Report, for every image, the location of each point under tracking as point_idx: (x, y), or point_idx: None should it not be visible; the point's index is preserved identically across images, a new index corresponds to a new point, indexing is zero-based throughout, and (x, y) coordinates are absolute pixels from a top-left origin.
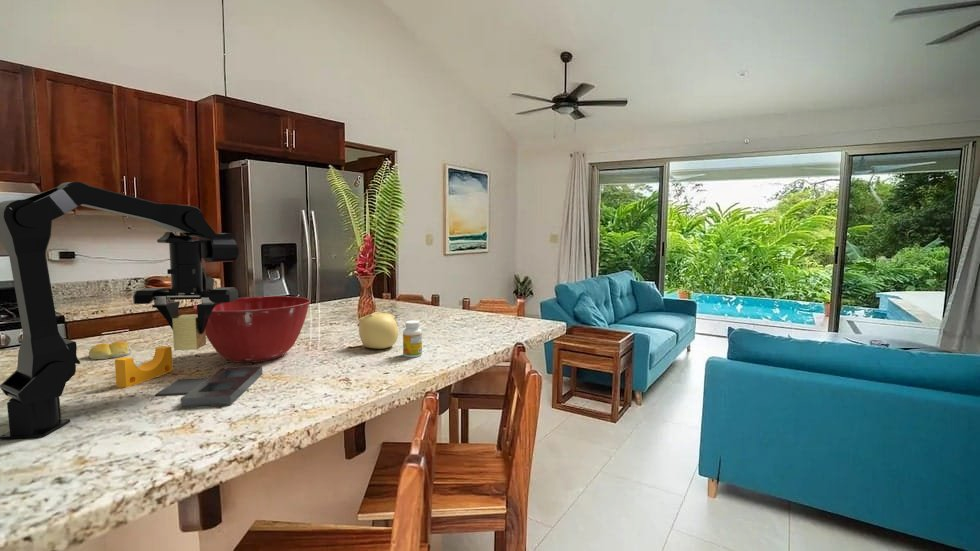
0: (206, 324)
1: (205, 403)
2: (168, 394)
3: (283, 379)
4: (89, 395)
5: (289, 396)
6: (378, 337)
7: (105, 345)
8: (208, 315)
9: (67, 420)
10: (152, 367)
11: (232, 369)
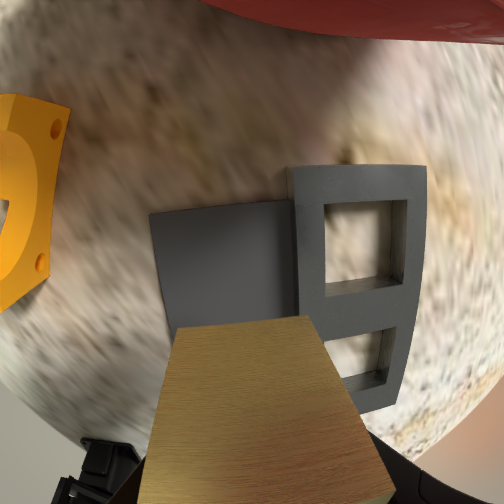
0: (383, 445)
1: None
2: None
3: (464, 225)
4: (25, 324)
5: (471, 336)
6: None
7: None
8: (431, 496)
9: (132, 451)
10: (29, 178)
11: (343, 193)
